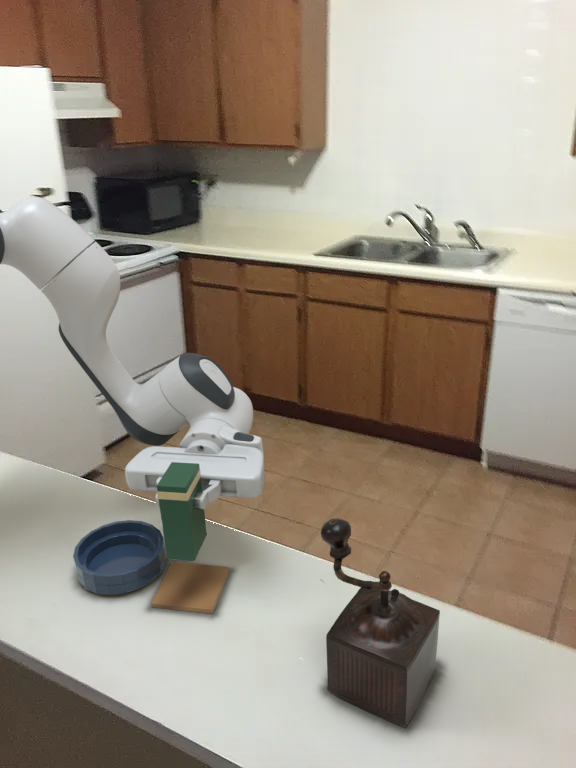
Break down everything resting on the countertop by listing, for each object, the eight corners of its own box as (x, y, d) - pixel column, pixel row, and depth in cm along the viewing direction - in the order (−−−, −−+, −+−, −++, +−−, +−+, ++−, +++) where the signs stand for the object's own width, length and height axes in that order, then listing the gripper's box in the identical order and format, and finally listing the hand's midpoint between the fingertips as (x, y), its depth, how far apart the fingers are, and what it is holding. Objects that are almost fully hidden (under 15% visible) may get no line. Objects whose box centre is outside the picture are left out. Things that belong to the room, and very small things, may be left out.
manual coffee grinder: (440, 663, 83) (450, 546, 76) (406, 731, 75) (412, 607, 67) (331, 618, 91) (330, 508, 84) (288, 675, 83) (283, 558, 75)
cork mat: (151, 607, 94) (150, 602, 94) (172, 565, 102) (172, 561, 102) (212, 613, 93) (212, 609, 92) (229, 571, 101) (229, 566, 100)
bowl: (62, 593, 97) (57, 571, 96) (100, 537, 109) (97, 517, 108) (147, 602, 95) (144, 580, 93) (177, 544, 107) (175, 523, 105)
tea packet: (166, 559, 92) (155, 485, 87) (180, 532, 97) (171, 461, 93) (195, 562, 91) (185, 487, 86) (207, 534, 97) (199, 463, 92)
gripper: (142, 430, 103) (104, 478, 91) (271, 437, 100) (250, 488, 87) (147, 465, 106) (111, 517, 93) (273, 473, 102) (253, 528, 90)
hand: (179, 503), depth 90 cm, fingers closed on tea packet, 4 cm apart
